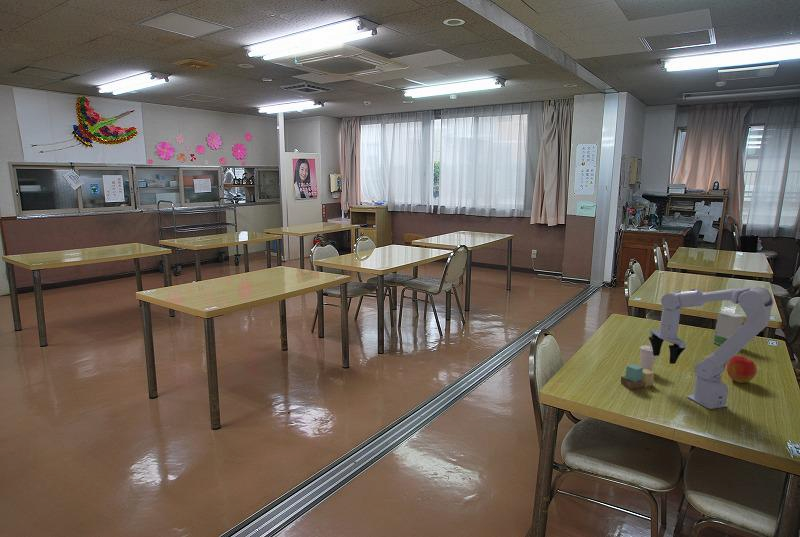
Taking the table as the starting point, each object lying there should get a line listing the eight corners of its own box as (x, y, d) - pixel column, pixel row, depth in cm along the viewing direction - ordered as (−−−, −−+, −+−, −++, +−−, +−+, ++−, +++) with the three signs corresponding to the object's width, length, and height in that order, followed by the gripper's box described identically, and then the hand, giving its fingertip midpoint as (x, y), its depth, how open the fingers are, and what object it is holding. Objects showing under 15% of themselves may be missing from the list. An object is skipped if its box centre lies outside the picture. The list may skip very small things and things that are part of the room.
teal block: (635, 382, 173) (636, 369, 172) (625, 378, 176) (626, 366, 175) (641, 380, 175) (643, 367, 174) (631, 376, 178) (632, 363, 177)
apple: (743, 388, 176) (747, 363, 174) (718, 378, 184) (721, 354, 182) (759, 384, 179) (764, 359, 177) (734, 374, 188) (738, 351, 186)
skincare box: (712, 343, 224) (717, 311, 221) (720, 341, 227) (725, 310, 224) (730, 349, 217) (735, 316, 214) (739, 347, 219) (744, 315, 216)
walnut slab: (644, 389, 174) (645, 382, 173) (629, 390, 173) (630, 382, 172) (634, 382, 180) (635, 375, 179) (620, 383, 179) (621, 376, 178)
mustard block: (652, 385, 177) (654, 373, 176) (644, 386, 176) (645, 374, 175) (644, 381, 181) (646, 368, 180) (636, 382, 179) (637, 369, 179)
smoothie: (657, 374, 187) (661, 341, 184) (639, 373, 188) (643, 339, 185) (652, 368, 193) (656, 335, 190) (635, 366, 194) (639, 334, 191)
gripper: (694, 330, 166) (689, 366, 169) (662, 318, 180) (657, 351, 183) (679, 331, 164) (673, 367, 167) (647, 319, 178) (642, 352, 181)
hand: (664, 359), depth 175 cm, fingers open, 7 cm apart
